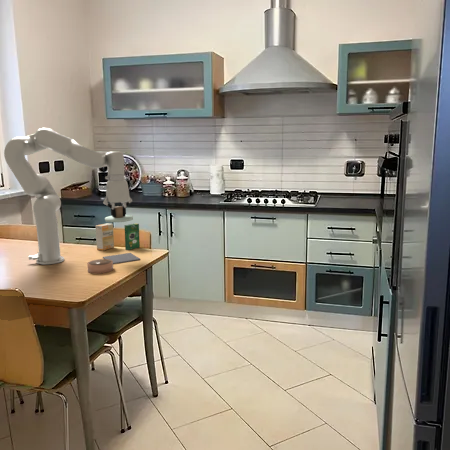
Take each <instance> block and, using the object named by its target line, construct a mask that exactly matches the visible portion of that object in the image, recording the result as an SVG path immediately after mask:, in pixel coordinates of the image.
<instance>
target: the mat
mask: <svg viewBox="0 0 450 450" xmlns="http://www.w3.org/2000/svg"><path fill="white" fill-rule="evenodd" d="M102 259H109V260H112V261H113V265H117V264H123V263H130V262H137V261H141V258H139V257H138V256H136V255H135V254H133V253H132V252H127V253H119V254H112V255H106V256H102Z"/></svg>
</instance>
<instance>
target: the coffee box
mask: <svg viewBox="0 0 450 450" xmlns="http://www.w3.org/2000/svg"><path fill="white" fill-rule="evenodd" d="M140 242H141V241H140V224H139V223H135V222H134V223H131V224H126V225H124V246H125V251H131V249H132V250H134V249H139V248H140V246H141V245H140Z"/></svg>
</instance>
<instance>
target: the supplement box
mask: <svg viewBox="0 0 450 450" xmlns="http://www.w3.org/2000/svg"><path fill="white" fill-rule="evenodd" d="M95 236H96V238H95V239H96V250H97V251H107V250H109V249H114V248H115V237H114V223H111V222H106V223H102V224H98V225H97V224H96V225H95Z"/></svg>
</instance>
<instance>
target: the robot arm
mask: <svg viewBox="0 0 450 450" xmlns="http://www.w3.org/2000/svg"><path fill="white" fill-rule="evenodd" d="M46 149H47V150H50V151H52V152H55V153H57V154H59V155H62V156H64V157H67V158H69V159H71V160H74V161H76V163H80V164H81V165H84V166H87V167H89V168H92V169H102V168H104V167H107V176H106V175H105V177H104V179H105V180H107V181H106V187H105V195H106V196H105V198H104V199H103V202H102V203H103V204H104V205H106V206H107V207H108V208H109V209H110V216H112V217H114V218H115V217H116V211H115V209H114V207H116V203H117V204H118V203H121V206H122V207H123V216H124V217H125V215H127V207H128V206H129V204H131V203H132V202H133V198H131V196H130V191H129V190H130V189H129V185H128V181H127V180H126V177H125V162H124V161H125V158H124V153H123V152H122V151H118V150H117V151H101V150H99V151H95V150H93V149H90V148H89V147H86V146H84V145H82V144H80V143H78V142H77V140H75V139H73V138H72V137H68V136H66V135H64V134H62V133H59V132H57V131H56V130H55V129H54V128H50V127H42V128H38V129H37V130H36V131H35V133H32V134H29V135H26V136H15V137H13V138H11V139H10V140H9V141H8V142H7V143H6V145H5V147H4V150H3V155H4V159H5V162H6V164H7V166H8V168H9V169H10V171H11V172H12V174H13V175H14V177H15V179H16V180H17V182H18V183H19V185H20V187H21V188H22V190H23V191H24V192H25V194H26V195H28V196H32V197H36V199H35V201H34V203H33V206H32V207H33V208H32V209H33V214H34V219H35V227H36V234H37V237H36V238H37V244H38V245H37V247H38V251H37V253H36V254H34V255H28V260H29V261H30V260H32V261H36V264H37V265H46V266H47V265H54V264H60V263H62V262H64V261H65V257H64V256H61V255H62V254H61V247H60V235H59V234H60V233H59V224H58V216H57V212H58V211H59V209H60V208H61V207H62V201H61V198H60V196H59V194H58V193H57V191H56V190H55V189H54V187H53V185H52V183H51V182H50V180H49V179H48V178H47V177H46V176H45V175H44V174H40V173H37V172H36V171H35V169H34V168H33V166H32V165H31V163H30V162H29V161H28V160H27V158H26V156H29V155H33V154H35V153H37V152H40V151H43V150H46Z"/></svg>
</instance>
